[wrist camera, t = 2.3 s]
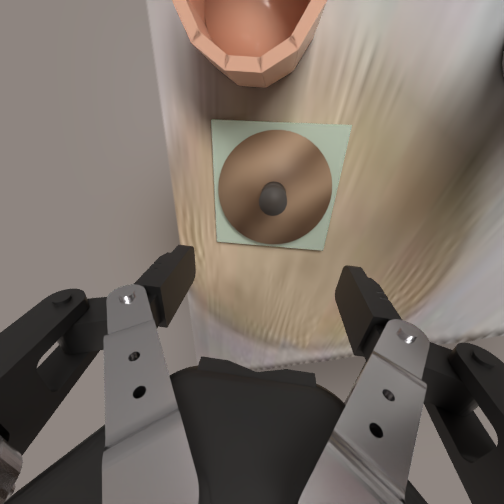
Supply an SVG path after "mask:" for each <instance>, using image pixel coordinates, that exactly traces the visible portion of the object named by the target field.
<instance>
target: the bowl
mask: <svg viewBox="0 0 504 504" xmlns="http://www.w3.org/2000/svg"><path fill="white" fill-rule="evenodd" d="M172 1H173V4H174V6H175V8H176V10H177V12H178V15H179V17H180V19H181V21H182V23H183V26H184V28H185V30H186V32H187V34H188V37H189V39H190V41H191V43H192V44H193V45H194V46H195V47H196V48H197V49H198V50H199V51H200V52H201V53H202V54H203V55H204V56H205V57H206V58H207V59H208V60H209V61H210V62H211V63H212V64H213V65H214V66H215V67H216V68H217V69H219V70H220V71H221V72H222V73H223V74H225V75H226V76H227V77H228V78H230V79H231V80H232V81H233V82H234V83H236V84H237V85H238V86H250V87H264V88H266V87H268V86H270V85H271V84H273V83H275V82H276V81H278V80H280V79H281V78H283V77H284V76H286V75H288V74H289V73H291V72H293V71H294V69H295V67H296V66H297V64H298V62H299V61H300V59H301V57H302V56H303V54H304V52H305V51H306V49H307V47H308V46H309V44H310V42H311V41H312V39H313V37H314V35H315V32H316V29H317V26H318V24H319V21H320V18H321V15H322V13H323V10H324V7H325V4H326V2H327V0H172Z"/></svg>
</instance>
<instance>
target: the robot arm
mask: <svg viewBox="0 0 504 504" xmlns="http://www.w3.org/2000/svg"><path fill="white" fill-rule="evenodd" d="M502 68H503V76H504V53H503V61H502ZM195 272H196V270H195V254H194V248H193V246H185V245H178V246H177V247H176V248H175V249H174V250H173V252H172V253H166V254H164V255H162V256H160V257H159V258H158V259H157V260H156V261H155V262H154V264H152V265H151V266H150V268H149V269H148V270H147V271H146V272H145V273H144V274H143V275H142V276H141V277H140V278H139V279H138V280H137V281H136V282H135V283H134V284H131V285H125V286H122V287H119V288H117V289H115V290H114V291H112V292H111V293H110V294H109V295H108V297H101V298H91V299H87V297H86V295H85V293H84V291H82V290H80V289H67V290H62V291H59V292H56V293H54V294H52V295H50V296H48V297H47V298H45V299H44V300H42V301H41V302H40V303H39V304H37V305H36V306H35V307H33V308H32V309H31V310H30V311H28V312H27V313H26V314H24V315H23V316H22V317H20V318H19V319H18V320H17V321H15V322H14V323H13V324H11V325H10V326H9V327H7V328H6V329H5V330H4V331H2V332H1V333H0V504H428V503H427V502H426V501H425V500H424V498H423V497H422V496H421V495H420V494H419V492H418V491H417V490H416V489H415V487H414V486H413V485H412V484H411V483H410V481H409V480H408V476H409V471H410V466H411V461H412V456H413V452H414V447H415V442H416V437H417V432H418V428H419V423H420V418H421V412H422V408H423V403H424V405H425V407H426V409H427V411H428V413H429V415H430V417H431V419H432V421H433V423H434V426H435V428H436V430H437V432H438V434H439V436H440V438H441V440H442V442H443V444H444V446H445V448H446V450H447V453H448V455H449V457H450V459H451V461H452V463H453V465H454V467H455V469H456V471H457V473H458V475H459V478H460V480H461V482H462V484H463V486H464V488H465V490H466V492H467V494H468V496H469V498H470V500H471V503H472V504H504V363H503V362H502V361H501V360H499V359H498V358H497V357H496V356H494V355H493V354H491V353H490V352H488V351H487V350H485V349H482V348H481V347H478V346H476V345H473V344H470V343H459V344H457V346H456V347H455V348H454V349H453V350H450V349H448V348H445V347H442V346H439V345H437V344H434V343H431V342H429V339H428V338H427V336H426V335H425V334H424V333H423V332H422V331H421V330H420V329H419V328H417V327H416V326H414V325H413V324H411V323H408V322H406V321H403V320H402V319H401V317H400V316H399V314H398V313H397V311H396V310H395V308H394V307H393V305H392V304H391V302H390V301H389V300H388V298H387V296H386V295H385V294H384V291H383V290H382V288H381V287H380V285H379V284H377V283H376V282H375V281H374V280H373V279H371V278H368V277H367V276H366V274H365V272H364V271H363V269H362V268H361V267H355V266H347V265H346V266H344V268H343V270H342V273H341V276H340V279H339V281H338V284H337V287H336V291H335V300H336V303H337V306H338V309H339V312H340V315H341V318H342V321H343V324H344V327H345V330H346V333H347V336H348V339H349V342H350V345H351V348H352V351H353V354H354V355H356V356H363V357H365V359H366V362H365V364H364V366H363V368H362V370H361V372H360V374H359V376H358V377H357V379H356V381H355V384H354V385H353V387H352V389H351V391H350V393H349V395H348V397H347V399H346V401H345V402H344V403H343V402H342V401H341V400H340V399H339V398H338V397H337V396H336V395H334V394H333V393H332V392H330V391H329V390H327V389H326V388H324V387H322V386H320V385H318V384H316V379H315V374H314V373H308V372H301V371H294V370H288V369H284V370H275V371H265V372H255V371H252V370H250V369H247V368H245V367H243V366H240V365H238V364H235V363H233V362H231V361H228V360H221V359H215V358H208V357H201V359H200V362H199V365H198V366H193V367H188V368H185V369H182V370H180V371H177V372H176V373H173V374H172V375H170V376H169V373H168V369H167V365H166V362H165V358H164V354H163V350H162V347H161V343H160V340H159V336H158V332H157V328H158V326H160V327H168V325H169V323H170V322H171V320H172V318H173V316H174V315H175V313H176V311H177V309H178V308H179V306H180V304H181V302H182V301H183V299H184V297H185V295H186V294H187V292H188V290H189V288H190V286H191V285H192V283H193V281H194V278H195ZM56 341H57V342H58V343H59V346H58V347H57V348H56V349H55V350H54V351H53V352H52V353H51V354H50V355H49V356H48V358H47V359H46V360H45V361H44V362H43V363H42V364H41V365H40V366H39V367H38V368H37V364H38V362H39V360H40V359H41V357H42V356H43V355H44V354H45V353H46V352H47V351H48V350H49V349H50V348H51V346H52V345H54V343H55V342H56ZM100 350H104V388H105V389H104V390H105V425H104V426H102V427H101V428H100V429H98V430H97V431H96V432H94V433H93V434H92V435H90V436H89V437H88V438H87V439H85V440H84V441H83V442H81V443H80V444H79V445H77V446H76V447H75V448H74V449H72V450H71V451H70V452H68V453H67V454H66V455H64V456H63V457H62V458H60V459H59V460H58V461H57V462H55V463H54V464H53V465H51V466H50V467H49V468H47V469H46V470H45V471H43V472H42V473H41V474H39V475H38V476H37V477H36V478H34V479H33V480H32V481H30V482H29V483H28V484H26V485H25V486H24V487H22V488H21V489H20V490H18V491H17V492H16V493H15V494H13V492H14V490H15V482H16V480H17V478H18V476H19V474H20V471H21V468H22V463H23V460H22V455H23V454H24V452H25V451H26V450H27V448H28V447H29V445H30V444H31V443H32V441H33V440H34V439H35V437H36V436H37V435H38V433H39V432H40V431H41V429H42V428H43V427H44V425H45V424H46V422H47V421H48V420H49V418H50V417H51V416H52V414H53V413H54V412H55V410H56V409H57V408H58V406H59V405H60V404H61V402H62V401H63V400H64V398H65V397H66V396H67V394H68V393H69V392H70V390H71V388H72V387H73V386H74V385H75V383H76V382H77V380H78V379H79V378H80V377H81V375H82V374H83V373H84V371H85V370H86V369H87V367H88V366H89V364H90V363H91V362H92V360H93V359H94V358H95V356H96V355H97V353H98V352H99V351H100ZM478 406H479V407H480V408H481V410H482V411H483V412H484V414H485V415H486V417H487V418H488V420H489V421H490V423H491V424H492V426H493V427H494V429H495V431H496V433H497V436H498V445H497V447H496V445H495V444H494V442H493V440H492V439H491V437H490V436H489V434H488V433H487V431H486V430H485V428H484V427H483V425H482V423H481V422H480V420H479V419H478V417H477V416H476V414H475V413H474V411H473V410H474V409H476V408H477V407H478ZM12 494H13V495H12Z"/></svg>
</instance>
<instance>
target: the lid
mask: <svg viewBox="0 0 504 504" xmlns="http://www.w3.org/2000/svg"><path fill="white" fill-rule="evenodd" d="M218 192H219V200H220V204H221V207H222V210H223V212H224V214H225V216H226V218H227V219H228V221H229V222H230V223H231V225H232V226H233V227H234V228H235V229H236V230H237V231H238V232H240V233H241V234H242V235H244V236H245V237H247V238H249V239H251V240H253V241H256V242H260V243H264V244H283V243H288V242H292V241H295V240H297V239H299V238H301V237H303V236H304V235H306V234H307V233H309V232H310V231H311V230H312V229H313V228H315V227H316V226H317V224H318V223H319V222H320V221H321V219H322V218H323V216H324V215H325V213H326V211H327V209H328V206H329V203H330V200H331V195H332V176H331V172H330V168H329V165H328V163H327V161H326V159H325V157H324V155H323V154H322V152H321V151H320V150H319V149H318V147H317V146H316V145H314V144H313V143H312V142H311V141H310V140H308V139H307V138H305V137H303V136H301V135H299V134H297V133H294V132H291V131H286V130H267V131H263V132H259V133H256V134H254V135H252V136H250V137H248V138H246V139H245V140H243V141H242V142H241V143H239V144H238V145H237V146H236V147H235V148H234V149H233V150H232V152H231V153H230V154H229V156H228V157H227V159H226V160H225V163H224V165H223V167H222V170H221V173H220V177H219V185H218Z"/></svg>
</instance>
